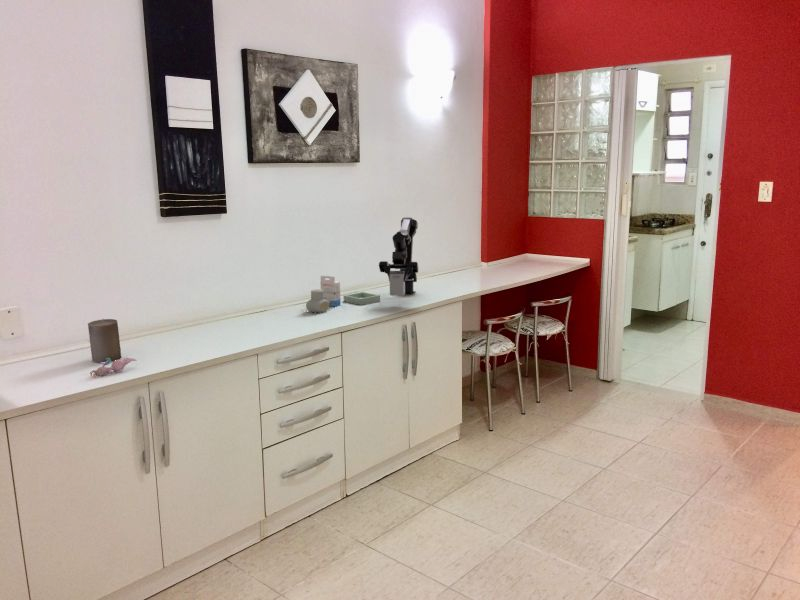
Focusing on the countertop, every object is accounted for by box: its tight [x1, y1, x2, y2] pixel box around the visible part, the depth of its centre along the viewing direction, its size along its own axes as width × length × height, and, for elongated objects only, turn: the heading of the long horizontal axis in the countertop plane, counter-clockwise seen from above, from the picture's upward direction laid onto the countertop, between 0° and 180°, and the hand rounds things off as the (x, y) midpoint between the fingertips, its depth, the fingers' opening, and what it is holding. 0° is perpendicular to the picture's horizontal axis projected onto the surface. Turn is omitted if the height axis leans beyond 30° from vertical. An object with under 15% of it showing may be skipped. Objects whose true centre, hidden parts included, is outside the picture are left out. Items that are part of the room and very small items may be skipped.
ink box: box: [320, 275, 342, 307], centre depth 323 cm, size 8×5×15 cm, turn 62°
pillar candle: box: [87, 318, 122, 363], centre depth 235 cm, size 10×10×15 cm
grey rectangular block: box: [389, 270, 405, 296], centre depth 319 cm, size 6×7×11 cm
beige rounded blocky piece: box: [305, 289, 330, 313], centre depth 310 cm, size 11×8×10 cm
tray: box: [342, 291, 381, 306], centre depth 333 cm, size 13×13×3 cm
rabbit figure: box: [90, 357, 137, 378], centre depth 221 cm, size 6×6×15 cm
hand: (396, 281), depth 317 cm, fingers closed on grey rectangular block, 7 cm apart
